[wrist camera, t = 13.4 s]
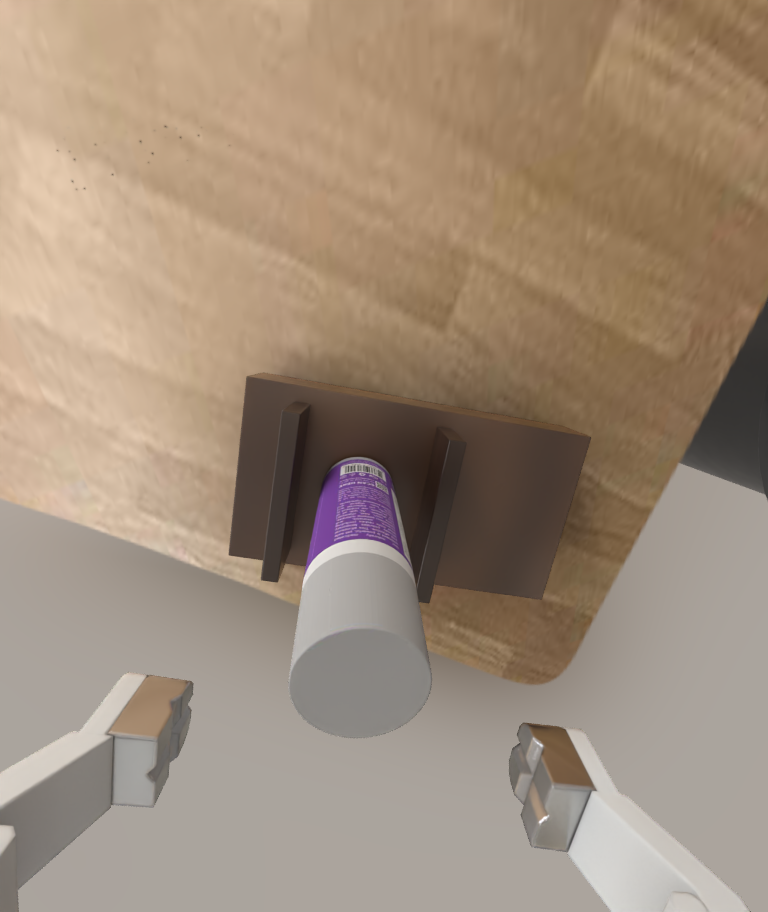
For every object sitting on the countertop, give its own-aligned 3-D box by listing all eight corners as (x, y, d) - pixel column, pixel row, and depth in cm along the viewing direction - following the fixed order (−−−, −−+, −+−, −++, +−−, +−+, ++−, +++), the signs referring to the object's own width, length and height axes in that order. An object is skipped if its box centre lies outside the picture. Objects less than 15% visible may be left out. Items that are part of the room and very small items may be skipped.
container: (305, 490, 27) (250, 688, 13) (358, 441, 26) (363, 596, 12) (356, 536, 28) (358, 763, 14) (408, 491, 27) (466, 683, 13)
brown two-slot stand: (563, 426, 31) (629, 452, 23) (521, 571, 34) (568, 637, 26) (262, 372, 29) (224, 381, 21) (245, 530, 32) (206, 588, 24)
